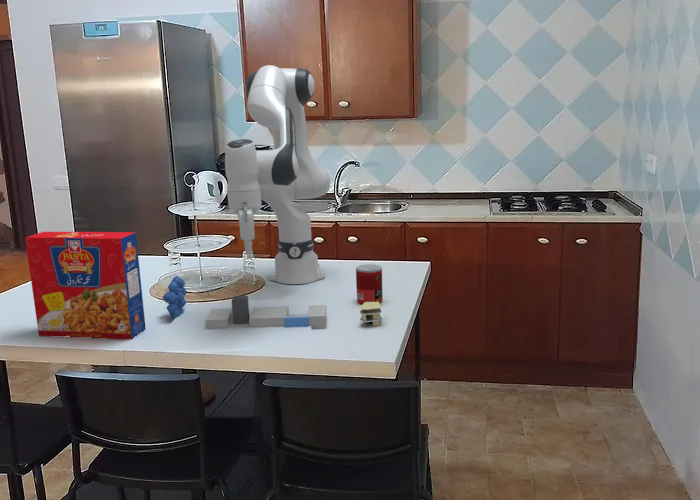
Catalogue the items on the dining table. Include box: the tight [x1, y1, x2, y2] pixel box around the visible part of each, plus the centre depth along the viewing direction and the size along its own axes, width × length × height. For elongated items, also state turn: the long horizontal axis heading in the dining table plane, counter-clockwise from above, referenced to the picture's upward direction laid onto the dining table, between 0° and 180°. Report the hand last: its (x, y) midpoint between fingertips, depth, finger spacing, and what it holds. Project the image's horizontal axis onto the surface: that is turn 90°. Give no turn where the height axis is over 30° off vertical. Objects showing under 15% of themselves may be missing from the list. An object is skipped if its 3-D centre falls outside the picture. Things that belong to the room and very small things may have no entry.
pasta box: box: [24, 231, 147, 340], centre depth 190 cm, size 28×8×28 cm, turn 79°
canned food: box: [355, 263, 383, 306], centre depth 212 cm, size 8×8×11 cm
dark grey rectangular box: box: [231, 295, 250, 324], centre depth 195 cm, size 4×4×7 cm
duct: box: [202, 304, 328, 330], centre depth 195 cm, size 11×34×4 cm, turn 91°
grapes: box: [162, 275, 188, 320], centre depth 204 cm, size 12×7×12 cm, turn 173°
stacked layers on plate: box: [359, 302, 382, 327], centre depth 193 cm, size 10×9×6 cm
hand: (248, 250), depth 190 cm, fingers open, 8 cm apart
